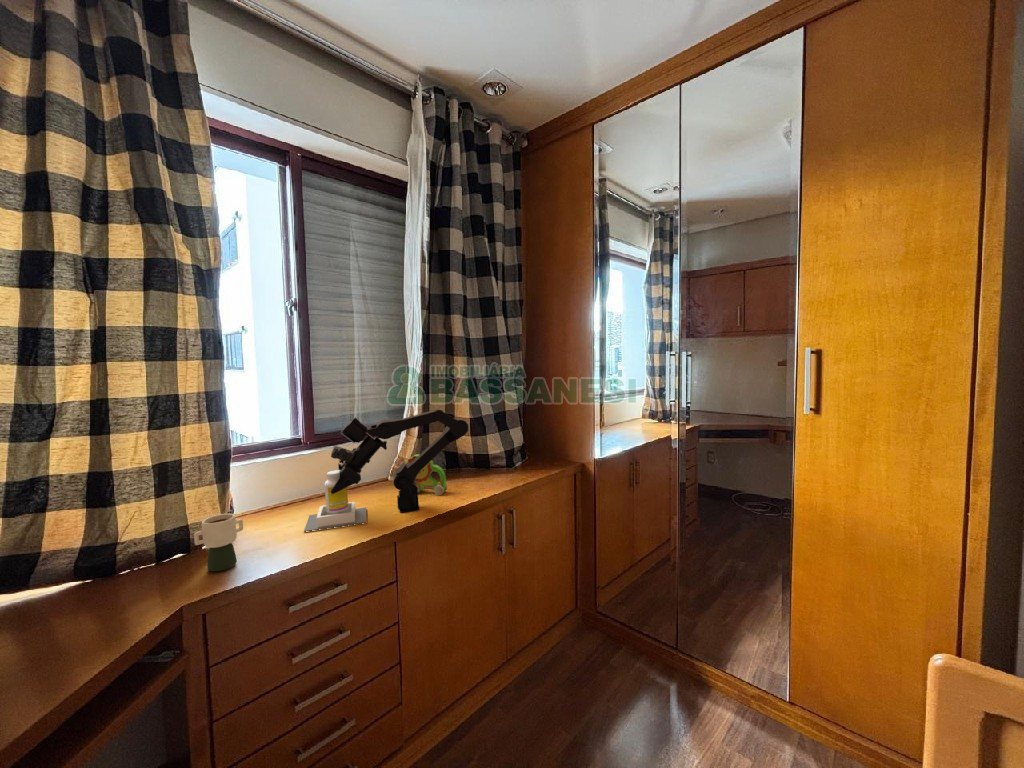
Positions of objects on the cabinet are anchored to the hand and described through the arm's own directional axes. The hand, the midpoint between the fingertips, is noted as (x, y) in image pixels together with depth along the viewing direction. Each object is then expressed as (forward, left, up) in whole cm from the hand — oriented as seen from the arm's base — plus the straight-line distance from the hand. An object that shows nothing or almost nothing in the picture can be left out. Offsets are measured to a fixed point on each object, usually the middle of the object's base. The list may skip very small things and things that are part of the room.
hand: (331, 490), depth 138 cm
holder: (-1, 0, -10) cm, 10 cm away
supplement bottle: (-1, 0, -7) cm, 7 cm away
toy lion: (-32, -16, -10) cm, 37 cm away
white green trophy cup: (+25, +23, -10) cm, 35 cm away
